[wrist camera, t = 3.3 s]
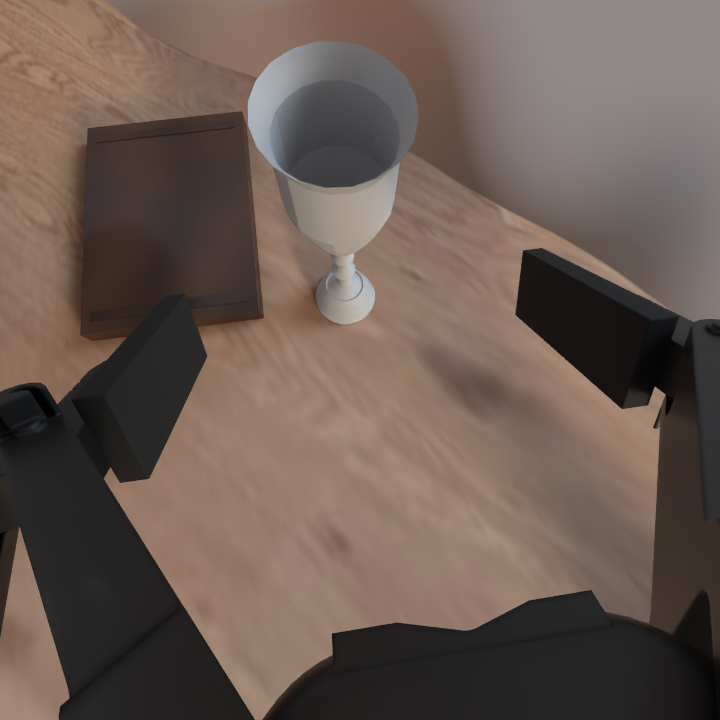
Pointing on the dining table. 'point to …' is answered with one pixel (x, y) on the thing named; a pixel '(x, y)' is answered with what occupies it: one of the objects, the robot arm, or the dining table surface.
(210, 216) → the serving board
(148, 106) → the dining table surface
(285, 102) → the chalice
